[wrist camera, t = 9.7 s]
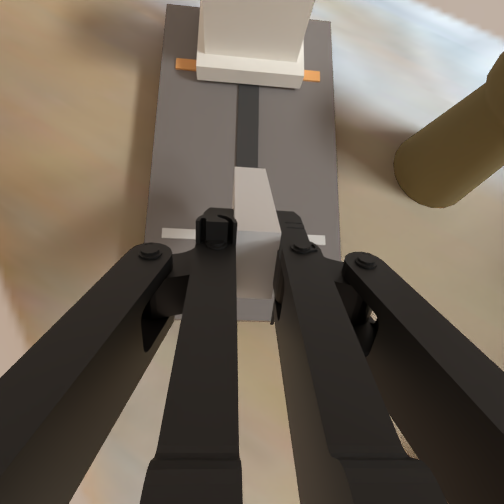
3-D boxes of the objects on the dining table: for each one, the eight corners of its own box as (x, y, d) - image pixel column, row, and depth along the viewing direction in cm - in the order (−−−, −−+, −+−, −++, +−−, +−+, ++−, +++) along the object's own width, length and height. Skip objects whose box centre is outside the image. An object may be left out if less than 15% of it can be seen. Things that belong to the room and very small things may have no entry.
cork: (405, 213, 25) (549, 122, 14) (384, 138, 26) (501, 3, 15) (480, 202, 26) (668, 109, 15) (456, 131, 27) (613, -3, 16)
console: (332, 323, 22) (344, 322, 20) (144, 319, 21) (136, 317, 19) (322, 43, 27) (331, 19, 25) (170, 28, 26) (166, 2, 24)
